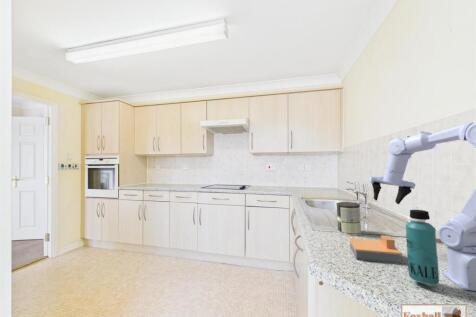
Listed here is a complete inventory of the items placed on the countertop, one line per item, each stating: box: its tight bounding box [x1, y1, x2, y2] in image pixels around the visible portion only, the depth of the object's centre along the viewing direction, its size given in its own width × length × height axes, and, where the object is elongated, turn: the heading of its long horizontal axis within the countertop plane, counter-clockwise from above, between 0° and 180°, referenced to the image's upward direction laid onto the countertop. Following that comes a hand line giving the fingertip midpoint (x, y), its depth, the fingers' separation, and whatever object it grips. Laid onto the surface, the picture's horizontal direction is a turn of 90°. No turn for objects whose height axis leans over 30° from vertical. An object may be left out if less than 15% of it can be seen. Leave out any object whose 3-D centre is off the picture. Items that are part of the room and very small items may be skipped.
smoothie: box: [406, 206, 427, 223], centre depth 90 cm, size 6×6×14 cm
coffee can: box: [336, 201, 362, 237], centre depth 102 cm, size 10×10×14 cm
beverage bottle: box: [405, 209, 441, 286], centre depth 56 cm, size 6×7×20 cm
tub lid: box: [348, 235, 403, 256], centre depth 75 cm, size 12×14×4 cm
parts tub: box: [349, 241, 402, 265], centre depth 75 cm, size 11×13×3 cm
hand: (386, 201), depth 83 cm, fingers open, 7 cm apart
